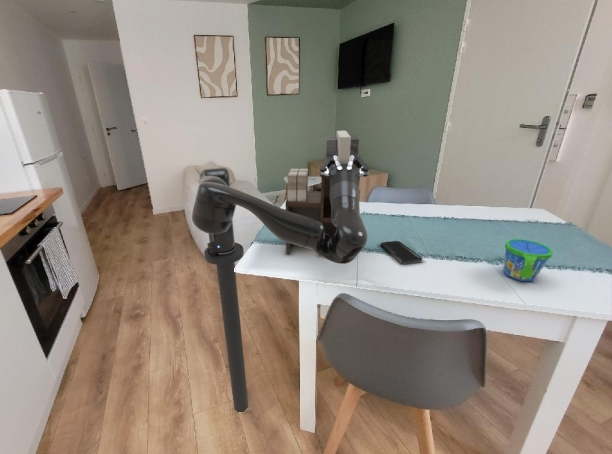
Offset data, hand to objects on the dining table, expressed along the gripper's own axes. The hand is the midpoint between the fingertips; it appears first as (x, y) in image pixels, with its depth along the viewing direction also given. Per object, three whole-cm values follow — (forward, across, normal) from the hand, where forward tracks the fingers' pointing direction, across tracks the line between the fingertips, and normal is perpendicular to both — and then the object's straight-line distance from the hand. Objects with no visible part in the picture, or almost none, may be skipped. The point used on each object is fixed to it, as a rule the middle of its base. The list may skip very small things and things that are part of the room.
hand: (343, 150), depth 87 cm
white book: (+1, 0, -6) cm, 6 cm away
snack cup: (-21, +55, -32) cm, 67 cm away
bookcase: (-10, -6, -39) cm, 40 cm away
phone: (-11, +23, -38) cm, 46 cm away
